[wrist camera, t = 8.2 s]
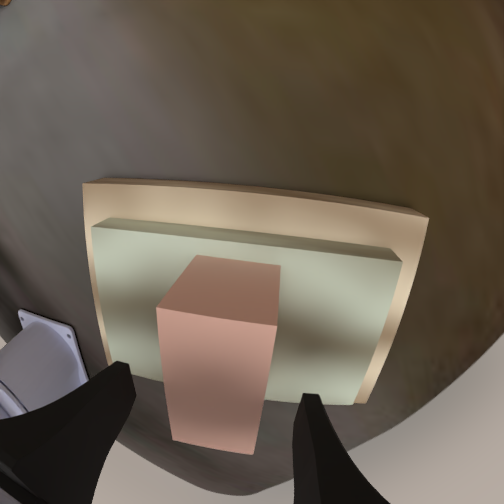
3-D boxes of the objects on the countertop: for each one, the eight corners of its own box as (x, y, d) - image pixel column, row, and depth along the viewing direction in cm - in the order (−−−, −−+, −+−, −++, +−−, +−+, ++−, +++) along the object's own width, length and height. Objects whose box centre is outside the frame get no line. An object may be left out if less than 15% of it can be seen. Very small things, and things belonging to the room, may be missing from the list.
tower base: (360, 381, 21) (370, 422, 17) (121, 347, 23) (97, 380, 19) (412, 208, 17) (445, 228, 12) (104, 177, 18) (62, 189, 14)
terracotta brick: (261, 387, 17) (253, 454, 12) (196, 376, 17) (172, 439, 12) (280, 265, 14) (276, 326, 9) (196, 254, 14) (156, 307, 10)
